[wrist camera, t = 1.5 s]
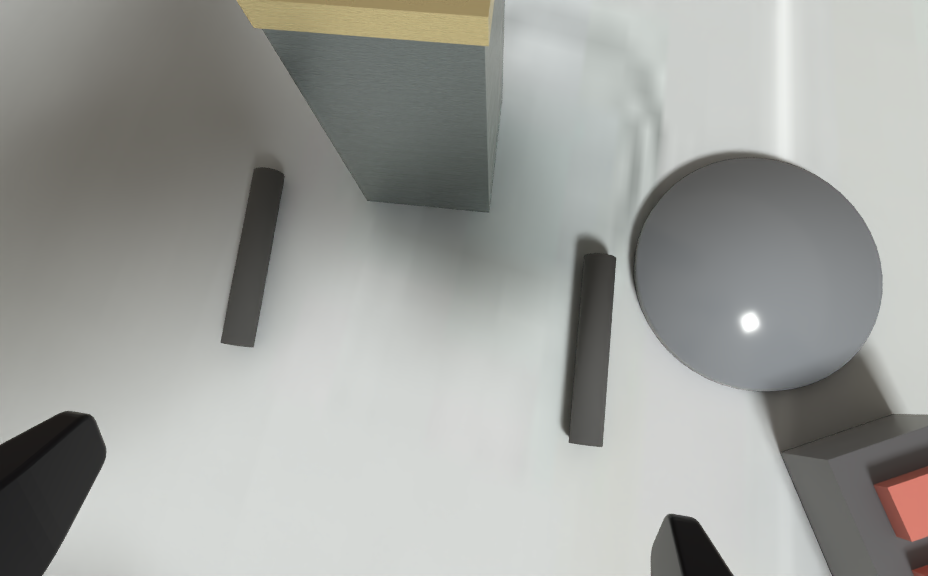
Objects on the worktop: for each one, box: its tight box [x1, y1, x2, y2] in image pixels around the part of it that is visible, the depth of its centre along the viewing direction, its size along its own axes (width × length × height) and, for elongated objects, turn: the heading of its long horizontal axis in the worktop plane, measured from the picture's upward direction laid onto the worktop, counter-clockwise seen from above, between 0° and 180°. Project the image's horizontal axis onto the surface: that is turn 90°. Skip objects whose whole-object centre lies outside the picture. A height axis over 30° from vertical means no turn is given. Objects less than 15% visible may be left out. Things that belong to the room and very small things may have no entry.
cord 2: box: [221, 167, 285, 347], centre depth 24 cm, size 7×1×1 cm, turn 173°
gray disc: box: [634, 158, 882, 391], centre depth 23 cm, size 9×9×1 cm
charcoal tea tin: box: [237, 0, 505, 212], centre depth 19 cm, size 5×5×13 cm
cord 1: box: [569, 253, 616, 447], centre depth 23 cm, size 7×1×1 cm, turn 173°
